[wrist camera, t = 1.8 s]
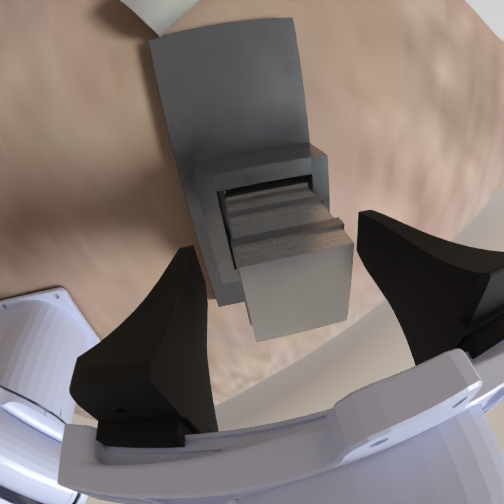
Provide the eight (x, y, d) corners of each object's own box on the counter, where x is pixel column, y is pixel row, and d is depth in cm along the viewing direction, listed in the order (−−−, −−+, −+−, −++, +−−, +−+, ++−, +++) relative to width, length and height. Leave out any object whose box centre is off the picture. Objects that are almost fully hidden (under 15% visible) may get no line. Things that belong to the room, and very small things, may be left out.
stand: (218, 298, 20) (222, 343, 17) (151, 42, 11) (131, 29, 7) (313, 278, 21) (332, 318, 17) (288, 20, 11) (315, 2, 8)
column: (235, 240, 17) (254, 344, 10) (221, 179, 14) (234, 265, 8) (298, 227, 17) (349, 320, 11) (293, 166, 15) (356, 239, 8)
